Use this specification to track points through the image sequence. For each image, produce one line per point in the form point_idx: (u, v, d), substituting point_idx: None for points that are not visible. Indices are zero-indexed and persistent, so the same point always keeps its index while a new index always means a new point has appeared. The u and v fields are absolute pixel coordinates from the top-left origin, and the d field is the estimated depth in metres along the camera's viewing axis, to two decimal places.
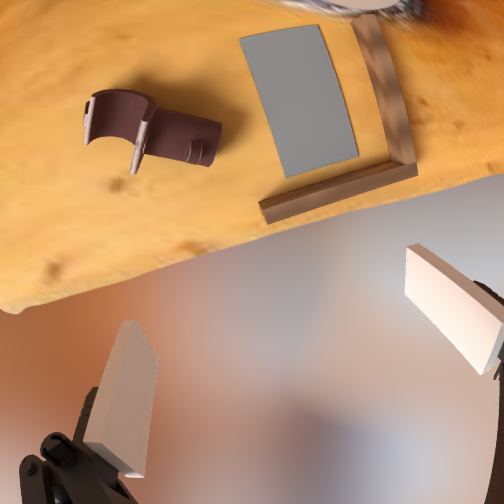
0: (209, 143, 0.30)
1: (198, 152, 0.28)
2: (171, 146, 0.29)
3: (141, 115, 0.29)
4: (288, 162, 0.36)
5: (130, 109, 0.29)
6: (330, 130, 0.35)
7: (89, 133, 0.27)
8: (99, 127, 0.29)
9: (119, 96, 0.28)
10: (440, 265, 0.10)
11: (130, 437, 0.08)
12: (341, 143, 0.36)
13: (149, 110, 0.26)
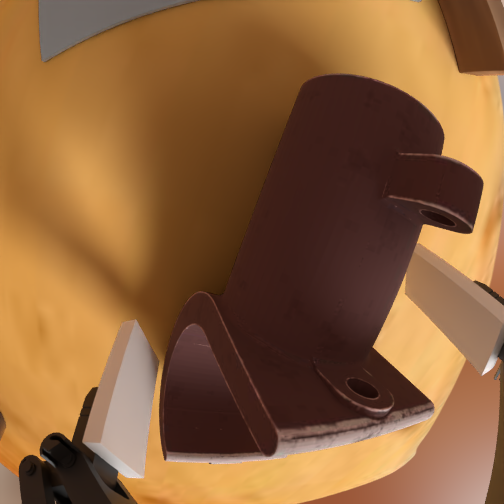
0: (396, 122, 0.06)
1: (457, 175, 0.05)
2: (386, 276, 0.07)
3: None
4: None
5: None
6: None
7: None
8: None
9: (180, 374, 0.12)
10: (441, 265, 0.10)
11: (129, 437, 0.08)
12: None
13: (222, 353, 0.07)
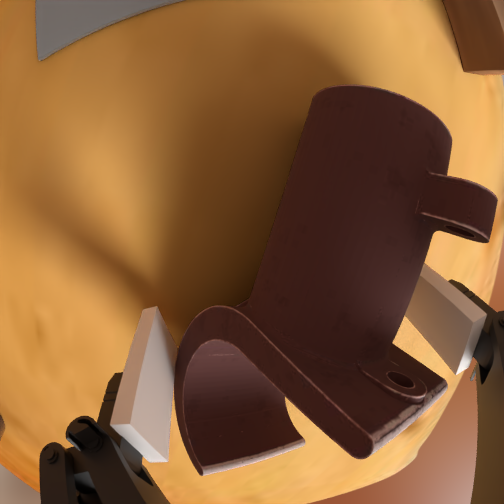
0: (425, 142, 0.07)
1: (483, 199, 0.06)
2: (413, 280, 0.08)
3: None
4: None
5: (235, 355, 0.12)
6: None
7: (283, 444, 0.12)
8: (266, 413, 0.14)
9: (195, 386, 0.12)
10: None
11: (155, 420, 0.08)
12: None
13: (277, 373, 0.07)
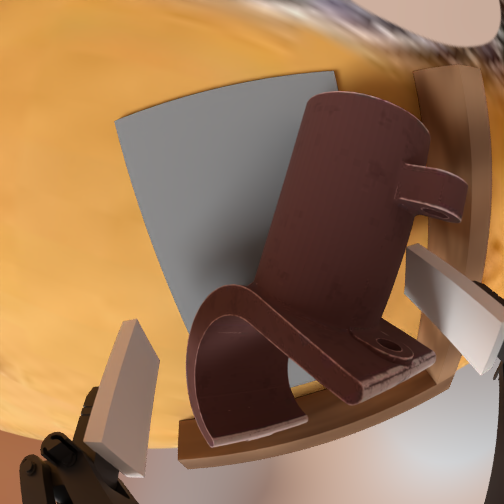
0: (402, 138, 0.08)
1: (452, 184, 0.07)
2: (396, 257, 0.09)
3: None
4: None
5: (242, 333, 0.14)
6: None
7: (288, 420, 0.14)
8: (271, 391, 0.15)
9: (206, 363, 0.13)
10: (440, 265, 0.10)
11: (130, 437, 0.08)
12: None
13: (280, 336, 0.09)
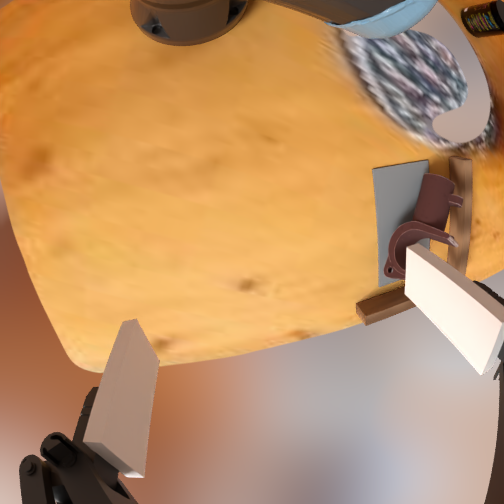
0: (449, 187, 0.34)
1: (460, 199, 0.33)
2: (447, 215, 0.35)
3: (414, 233, 0.39)
4: (383, 276, 0.45)
5: (404, 241, 0.40)
6: None
7: None
8: None
9: (396, 250, 0.39)
10: (440, 265, 0.10)
11: (130, 437, 0.08)
12: None
13: (429, 230, 0.35)
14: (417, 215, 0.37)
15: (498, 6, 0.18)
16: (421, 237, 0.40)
